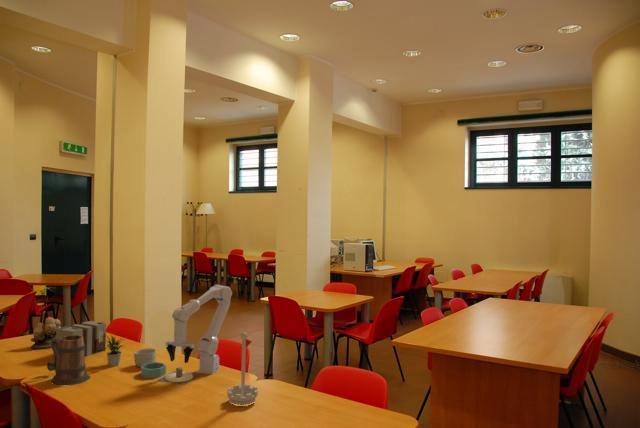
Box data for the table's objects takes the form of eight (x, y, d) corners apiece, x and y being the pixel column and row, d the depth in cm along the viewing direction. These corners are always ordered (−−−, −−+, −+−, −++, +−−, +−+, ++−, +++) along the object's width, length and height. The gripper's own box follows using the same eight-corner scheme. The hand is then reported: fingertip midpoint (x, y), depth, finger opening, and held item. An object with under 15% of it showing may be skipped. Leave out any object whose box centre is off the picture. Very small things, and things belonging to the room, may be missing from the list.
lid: (198, 375, 243) (198, 365, 243) (183, 383, 230) (183, 373, 230) (174, 372, 246) (175, 362, 246) (159, 380, 234) (159, 370, 234)
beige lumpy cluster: (58, 341, 298) (59, 313, 298) (68, 345, 292) (69, 316, 291) (26, 347, 283) (27, 317, 283) (36, 351, 277) (37, 321, 277)
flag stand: (244, 410, 203) (245, 337, 202) (220, 403, 209) (222, 332, 209) (263, 400, 214) (265, 331, 214) (241, 394, 221) (242, 327, 220)
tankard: (97, 377, 237) (98, 335, 237) (67, 388, 222) (68, 344, 222) (64, 369, 247) (65, 329, 247) (32, 379, 232) (33, 337, 231)
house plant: (90, 366, 253) (90, 334, 253) (110, 359, 265) (111, 329, 265) (111, 370, 247) (112, 338, 247) (131, 363, 260) (132, 332, 260)
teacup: (148, 370, 249) (149, 354, 249) (129, 368, 252) (129, 352, 252) (162, 362, 263) (163, 347, 263) (144, 360, 265) (144, 345, 265)
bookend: (109, 350, 282) (109, 322, 282) (71, 362, 259) (72, 331, 259) (89, 346, 289) (89, 319, 289) (50, 357, 266) (51, 327, 266)
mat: (200, 375, 243) (200, 374, 243) (184, 385, 229) (184, 384, 229) (174, 372, 248) (174, 371, 248) (156, 381, 233) (156, 380, 233)
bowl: (169, 372, 246) (169, 363, 246) (156, 379, 236) (156, 370, 236) (150, 370, 249) (150, 361, 249) (136, 377, 239) (136, 367, 239)
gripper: (162, 333, 236) (161, 362, 236) (189, 336, 232) (188, 365, 232) (170, 330, 243) (169, 358, 243) (196, 333, 239) (196, 361, 239)
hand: (179, 361), depth 238 cm, fingers open, 7 cm apart
